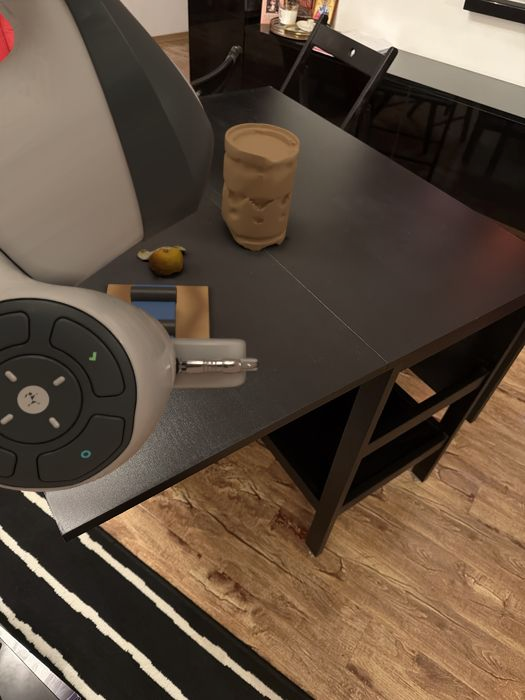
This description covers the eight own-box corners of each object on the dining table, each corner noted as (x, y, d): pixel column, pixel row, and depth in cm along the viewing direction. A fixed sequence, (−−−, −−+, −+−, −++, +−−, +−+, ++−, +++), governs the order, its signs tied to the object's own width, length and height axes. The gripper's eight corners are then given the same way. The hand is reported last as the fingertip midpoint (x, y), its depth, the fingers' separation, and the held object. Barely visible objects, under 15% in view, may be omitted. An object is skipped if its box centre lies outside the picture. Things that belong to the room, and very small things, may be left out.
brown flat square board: (94, 359, 67) (94, 357, 66) (108, 285, 77) (108, 284, 77) (210, 359, 69) (210, 357, 69) (207, 287, 80) (208, 286, 79)
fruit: (182, 246, 87) (181, 229, 84) (195, 274, 82) (195, 257, 79) (136, 253, 84) (134, 235, 81) (146, 282, 79) (144, 264, 76)
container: (298, 233, 94) (315, 142, 81) (256, 259, 86) (267, 163, 73) (250, 207, 98) (258, 117, 85) (206, 229, 91) (209, 134, 78)
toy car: (123, 335, 61) (132, 276, 69) (128, 368, 66) (135, 309, 74) (174, 335, 62) (176, 277, 70) (175, 368, 67) (177, 309, 75)
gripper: (263, 321, 33) (242, 324, 47) (-55, 316, 30) (21, 321, 44) (262, 411, 34) (241, 388, 47) (-54, 415, 31) (21, 389, 44)
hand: (133, 356), depth 46 cm, fingers closed
